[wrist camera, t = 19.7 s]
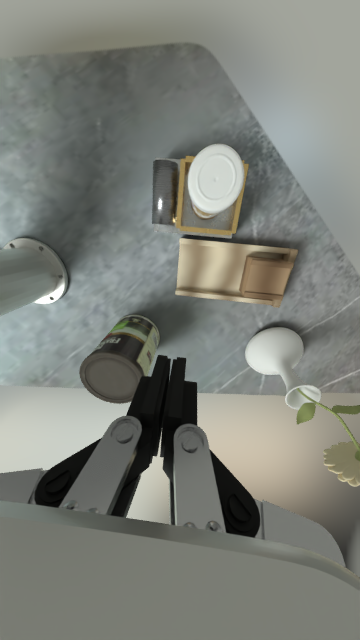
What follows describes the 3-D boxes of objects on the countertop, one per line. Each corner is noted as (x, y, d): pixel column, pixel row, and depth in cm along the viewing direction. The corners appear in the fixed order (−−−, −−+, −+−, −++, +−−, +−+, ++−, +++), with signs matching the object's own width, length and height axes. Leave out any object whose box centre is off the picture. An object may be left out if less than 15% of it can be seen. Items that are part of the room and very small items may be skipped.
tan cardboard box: (238, 289, 35) (243, 296, 31) (245, 255, 32) (252, 258, 29) (272, 293, 35) (281, 301, 31) (282, 259, 32) (294, 263, 28)
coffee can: (105, 328, 42) (65, 370, 29) (140, 305, 39) (113, 341, 26) (134, 361, 45) (109, 412, 33) (169, 342, 42) (157, 389, 30)
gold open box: (158, 231, 33) (149, 231, 26) (160, 166, 29) (150, 148, 23) (227, 237, 32) (235, 239, 26) (239, 173, 29) (251, 155, 22)
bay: (176, 290, 37) (174, 296, 34) (181, 237, 33) (179, 238, 30) (272, 301, 37) (279, 307, 33) (288, 248, 32) (298, 249, 29)
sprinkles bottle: (185, 196, 27) (176, 167, 15) (214, 175, 26) (230, 125, 14) (200, 226, 29) (204, 223, 16) (228, 208, 27) (255, 189, 15)
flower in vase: (240, 367, 44) (286, 512, 21) (247, 322, 39) (318, 448, 16) (299, 370, 43) (414, 525, 20) (314, 324, 38) (488, 462, 15)
